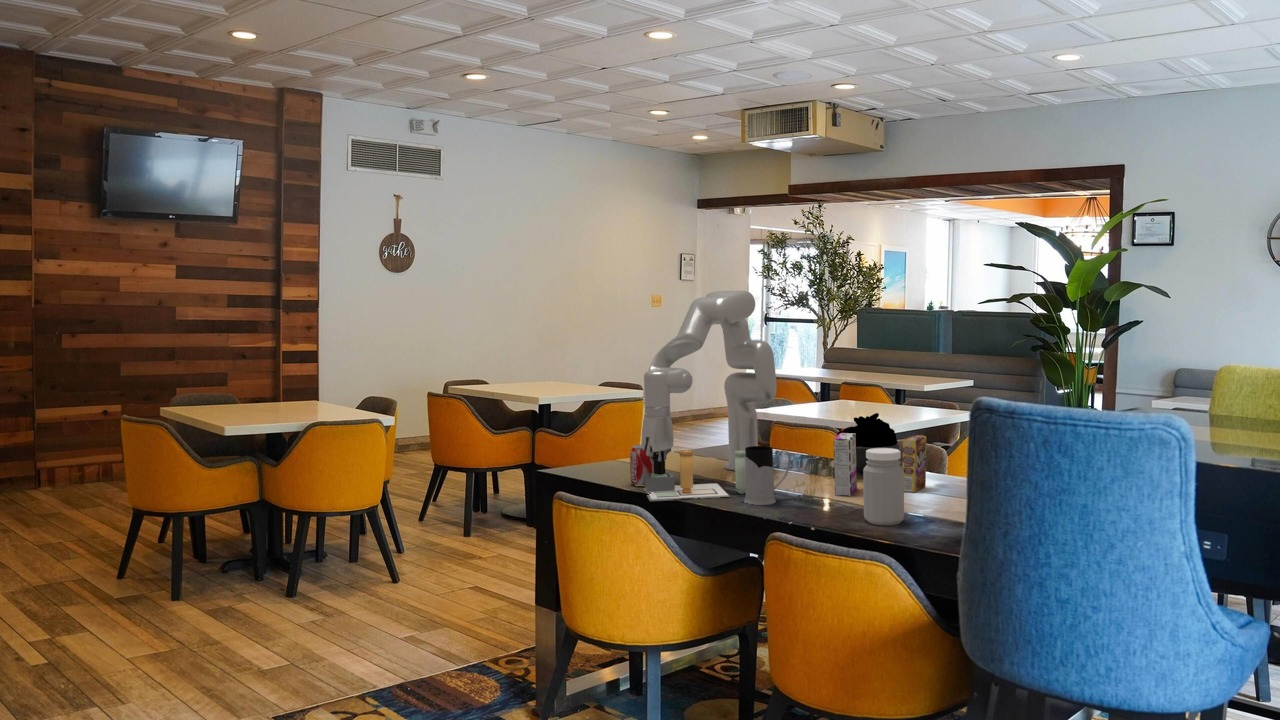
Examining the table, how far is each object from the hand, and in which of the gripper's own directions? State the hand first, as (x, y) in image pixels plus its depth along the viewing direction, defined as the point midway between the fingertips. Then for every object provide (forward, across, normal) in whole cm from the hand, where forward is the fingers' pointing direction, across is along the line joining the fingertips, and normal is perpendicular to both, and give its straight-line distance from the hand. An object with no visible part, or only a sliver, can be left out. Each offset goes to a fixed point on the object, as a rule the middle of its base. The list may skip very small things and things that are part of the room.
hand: (659, 473), depth 296 cm
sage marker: (+5, -10, +23) cm, 25 cm away
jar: (+5, +2, +72) cm, 72 cm away
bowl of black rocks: (+6, -54, +40) cm, 67 cm away
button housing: (+5, 0, 0) cm, 5 cm away
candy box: (+6, -39, +62) cm, 74 cm away
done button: (+3, 0, 0) cm, 3 cm away
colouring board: (+5, -1, +8) cm, 10 cm away
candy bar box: (+6, -26, +47) cm, 54 cm away
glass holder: (+5, -4, +35) cm, 35 cm away
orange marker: (+4, +1, +11) cm, 11 cm away
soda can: (+5, -4, -10) cm, 12 cm away
